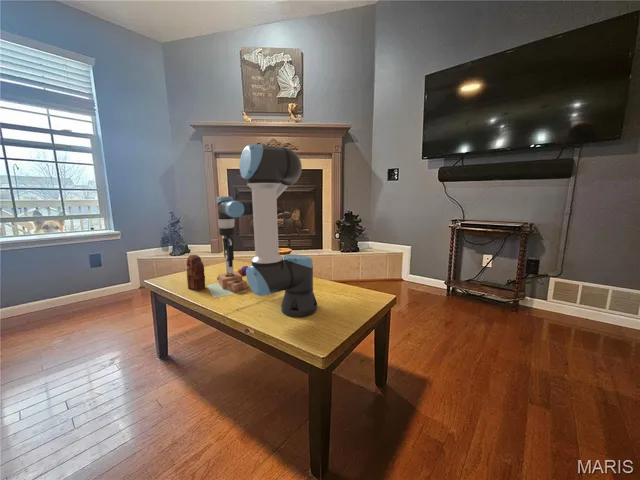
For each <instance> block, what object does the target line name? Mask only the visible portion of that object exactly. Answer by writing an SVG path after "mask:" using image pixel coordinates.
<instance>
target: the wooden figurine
mask: <svg viewBox="0 0 640 480" xmlns="http://www.w3.org/2000/svg"><path fill="white" fill-rule="evenodd" d="M186 267H187V268H186V280H187V281H186V282H187V289H188V290H192V291H194V292H201V291H203V290H205V289H206V275H205V274H206V273H205V266H204V263H203V261H202V258H201V257H200V256H199V255H197V254H191V255H188V256H187V258H186Z"/></svg>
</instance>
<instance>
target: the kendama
mask: <svg viewBox="0 0 640 480" xmlns="http://www.w3.org/2000/svg"><path fill="white" fill-rule="evenodd" d="M247 267H249V266H248V265H244V266H242V267H241V268H239V269H238V270H237V271H236V272H238V273H239V274H240V275H241V276H242V277H243V276H246V270H247ZM216 280H217V281H219V279H218V276H217V279H216Z"/></svg>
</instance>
